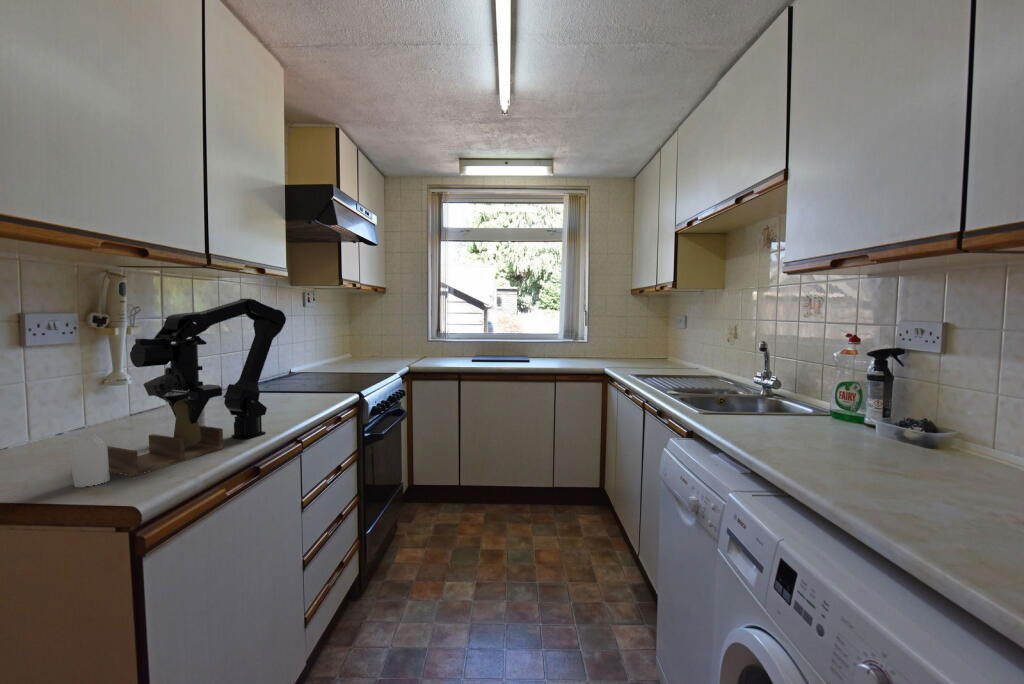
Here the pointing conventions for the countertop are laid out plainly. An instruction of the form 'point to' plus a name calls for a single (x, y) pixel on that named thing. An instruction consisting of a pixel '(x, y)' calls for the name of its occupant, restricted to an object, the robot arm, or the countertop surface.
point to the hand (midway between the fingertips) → (186, 422)
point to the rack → (163, 452)
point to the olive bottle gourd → (185, 424)
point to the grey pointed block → (89, 460)
